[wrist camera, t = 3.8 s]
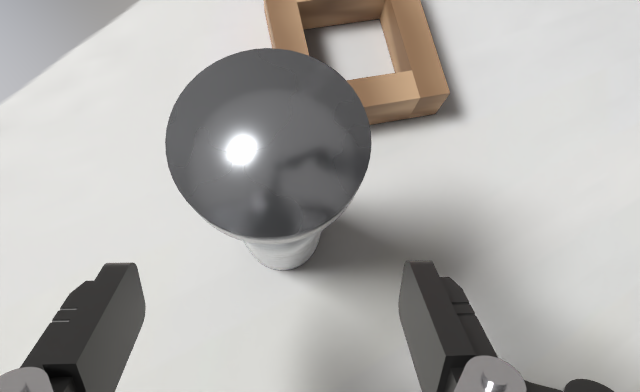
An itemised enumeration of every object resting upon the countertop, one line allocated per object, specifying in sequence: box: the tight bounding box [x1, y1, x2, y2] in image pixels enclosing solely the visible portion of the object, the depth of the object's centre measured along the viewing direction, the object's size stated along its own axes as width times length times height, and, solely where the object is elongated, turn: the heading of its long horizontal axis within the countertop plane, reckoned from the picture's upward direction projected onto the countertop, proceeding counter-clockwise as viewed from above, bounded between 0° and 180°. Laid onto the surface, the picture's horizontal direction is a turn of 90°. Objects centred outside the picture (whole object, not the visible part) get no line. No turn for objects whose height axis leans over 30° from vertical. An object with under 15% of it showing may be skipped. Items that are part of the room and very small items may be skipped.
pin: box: [165, 48, 371, 270], centre depth 17 cm, size 5×5×13 cm
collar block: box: [264, 0, 450, 125], centre depth 25 cm, size 9×9×2 cm
